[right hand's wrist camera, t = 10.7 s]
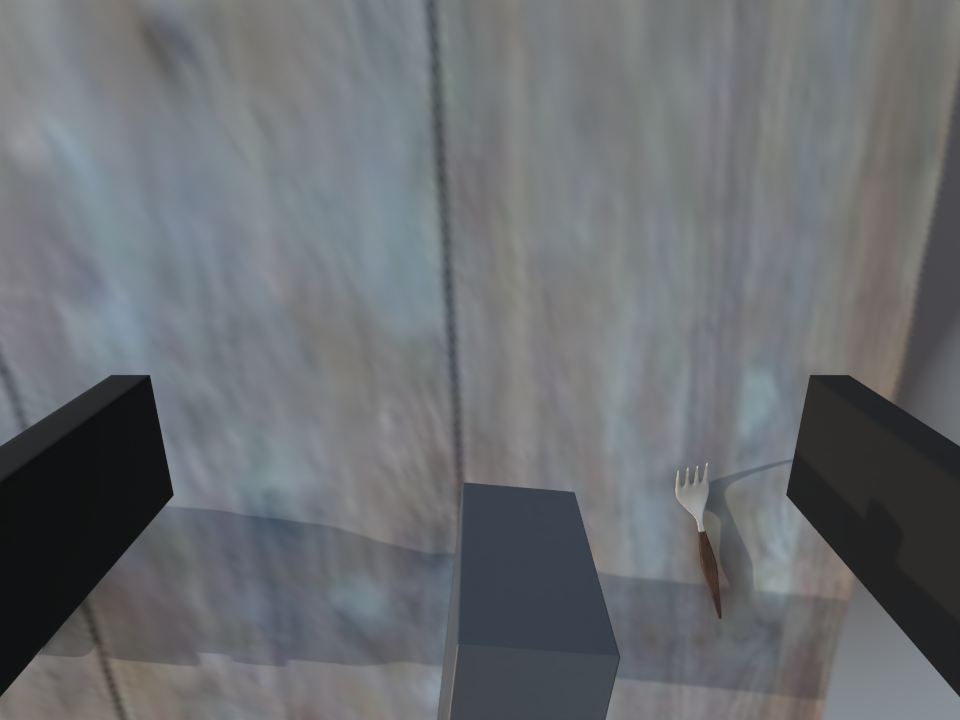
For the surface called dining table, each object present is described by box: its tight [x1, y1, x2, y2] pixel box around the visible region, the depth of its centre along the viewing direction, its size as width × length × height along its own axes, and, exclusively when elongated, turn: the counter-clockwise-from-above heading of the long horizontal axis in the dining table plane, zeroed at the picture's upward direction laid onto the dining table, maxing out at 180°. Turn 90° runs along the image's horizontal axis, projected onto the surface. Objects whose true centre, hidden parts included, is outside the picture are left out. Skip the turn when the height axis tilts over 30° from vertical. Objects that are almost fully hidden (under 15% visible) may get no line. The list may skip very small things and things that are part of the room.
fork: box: [676, 463, 722, 619], centre depth 48 cm, size 3×16×2 cm, turn 17°
